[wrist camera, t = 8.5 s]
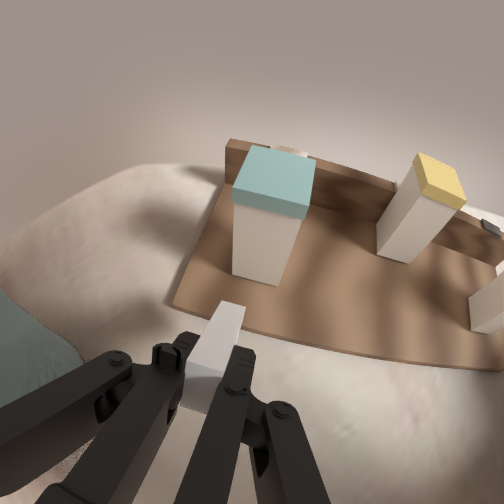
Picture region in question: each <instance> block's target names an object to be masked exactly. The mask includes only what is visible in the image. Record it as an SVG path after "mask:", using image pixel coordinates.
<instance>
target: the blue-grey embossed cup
mask: <svg viewBox="0 0 504 504" xmlns="http://www.w3.org/2000/svg"><path fill="white" fill-rule="evenodd" d="M83 364H84V363H83V361H82V359H81V357H80V355H79V353H78V352H77V351H76V349H75V348H74V347H73V346H72V345H71V344H70V343H69V342H68V341H66V340H65V339H63V338H62V337H61V336H59V335H58V334H56V333H55V332H53V331H51V330H50V329H48V328H47V327H46V326H44V325H42V324H40V322H39V321H38V320H36V319H35V318H34V317H33V316H31V315H30V314H29V313H28V312H26V311H25V310H24V309H23V308H21V307H20V306H19V305H18V304H16V303H15V302H14V301H13V300H12V299H10V298H9V297H8V295H7V294H6V293H5V292H4V291H3V290H2V289H1V288H0V408H1V407H3V406H5V405H7V404H9V403H11V402H12V401H14V400H16V399H18V398H20V397H22V396H24V395H26V394H28V393H30V392H32V391H34V390H36V389H38V388H40V387H42V386H44V385H45V384H47V383H49V382H51V381H53V380H55V379H57V378H59V377H61V376H63V375H64V374H66V373H68V372H70V371H72V370H74V369H76V368H78V367H79V366H81V365H83Z"/></svg>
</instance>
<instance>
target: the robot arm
mask: <svg viewBox="0 0 504 504" xmlns="http://www.w3.org/2000/svg"><path fill="white" fill-rule="evenodd" d="M245 309H246V307H244V306H241V305H237V304H233V303H230V302H226V301H223V300H222V301H221V302H220V304H219V306H218V308H217V309H216V311H215V313H214V314H213V316H212V318H211V319H210V321H209V323H208V324H207V326H206V328H205V330H204V331H203V333H202V335H201V336H200V335H197V334H194V333H191V332H188V331H185V332H183V333H181V334H179V335H178V337H177V338H176V339H175V341H174V342H173V344H170V343H160V344H156V345H155V346H154V347H153V352H152V363H151V364H150V365H141V364H136V363H132V359H131V357H130V356H129V355H128V354H126V353H124V352H122V351H117V350H114V351H108V352H106V353H104V354H102V355H100V356H98V357H96V358H94V359H93V360H91V361H89V362H87V363H85V364H83V365H81V366H79V367H78V368H76V369H74V370H72V371H70V372H68V373H66V374H64V375H63V376H61V377H59V378H57V379H55V380H53V381H51V382H49V383H47V384H45V385H44V386H42V387H40V388H38V389H36V390H34V391H32V392H30V393H28V394H26V395H24V396H22V397H20V398H18V399H16V400H14V401H12V402H11V403H9V404H7V405H5V406H3V407H1V408H0V497H3V496H6V495H9V494H11V493H13V492H15V491H17V490H19V489H21V488H22V487H24V486H25V485H27V484H28V483H30V482H31V481H33V480H34V479H36V478H37V477H39V476H40V475H42V474H43V473H45V472H46V471H48V470H49V469H51V468H52V467H53V466H55V465H56V464H58V463H59V462H61V461H62V460H63V459H65V458H66V457H68V456H69V455H70V454H72V453H73V452H74V451H76V450H77V449H79V448H80V447H81V446H83V445H84V444H85V443H87V442H88V441H89V440H91V439H92V438H93V437H95V436H96V435H97V436H96V437H95V438H94V440H93V441H92V442H91V444H90V445H89V447H88V448H87V449H86V451H85V452H84V453H83V455H82V456H81V457H80V459H79V460H78V461H77V463H76V464H75V466H74V467H73V468H72V470H71V471H70V472H69V474H68V475H67V477H66V478H65V479H64V480H63V481H62V482H61V483H53V484H51V485H49V486H48V487H47V488H46V489H45V490H44V492H43V493H42V494H41V496H40V497H39V498H38V500H37V501H36V502H35V504H132V502H133V500H134V498H135V496H136V494H137V492H138V490H139V488H140V486H141V484H142V482H143V480H144V478H145V476H146V474H147V472H148V470H149V468H150V466H151V464H152V462H153V460H154V458H155V456H156V454H157V452H158V450H159V448H160V446H161V443H162V441H163V439H164V437H165V435H166V433H167V431H168V429H169V427H170V425H171V423H172V421H173V419H174V417H175V415H176V412H177V406H178V404H179V402H180V406H183V407H185V408H188V409H191V410H195V411H198V412H201V413H204V414H207V416H206V419H205V422H204V424H203V427H202V430H201V432H200V435H199V438H198V440H197V443H196V446H195V448H194V451H193V454H192V456H191V459H190V462H189V464H188V467H187V470H186V472H185V475H184V477H183V480H182V483H181V485H180V488H179V491H178V493H177V496H176V498H175V501H174V503H173V504H227V501H228V497H229V493H230V488H231V484H232V479H233V475H234V470H235V466H236V461H237V456H238V452H239V447H240V442H242V443H244V444H246V445H248V446H249V453H250V459H251V465H252V472H253V478H254V484H255V490H256V495H257V501H258V504H331V503H330V500H329V497H328V495H327V492H326V489H325V486H324V484H323V481H322V478H321V475H320V473H319V470H318V467H317V464H316V462H315V459H314V456H313V453H312V451H311V448H310V445H309V442H308V440H307V437H306V434H305V431H304V428H303V426H302V423H301V420H300V417H299V414H298V412H297V410H296V409H295V408H294V407H293V406H292V405H291V404H289V403H286V402H283V401H272V402H270V403H268V404H266V403H264V402H261V401H260V400H258V399H257V398H256V397H254V395H253V394H252V393H251V390H250V386H251V381H252V376H253V370H254V365H255V360H256V355H255V353H254V351H253V350H252V349H248V348H244V347H241V346H237V345H236V344H237V340H238V336H239V332H240V328H241V325H242V321H243V317H244V313H245ZM180 400H181V401H180Z"/></svg>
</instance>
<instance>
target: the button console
mask: <svg viewBox="0 0 504 504" xmlns="http://www.w3.org/2000/svg"><path fill="white" fill-rule="evenodd" d="M252 145H255V146H260V147H265V148H269V149H274V150H278V151H282V152H287V153H291V154H295V155H299V156H303V157H306V158H310V159H314V160H316V165H315V172H314V178H313V185H312V191H311V197H310V203H309V208H308V211H307V213H306V216H305V219H304V220H302V222H301V225H300V228H299V231H298V233H297V236H296V239H295V242H294V245H293V248H292V250H291V253H290V256H289V259H288V262H287V264H286V267H285V270H284V273H283V275H282V278H281V281H280V283H279V286H278V287H277V286H273V285H269V284H265V283H262V282H258V281H254V280H250V279H247V278H243V277H239V276H235V275H232V254H233V220H234V203H233V202H232V187H233V185H234V183H235V181H236V178H237V176H238V174H239V172H240V170H241V167H242V165H243V163H244V161H245V159H246V157H247V155H248V152H249V150H250V148H251V146H252ZM307 155H308V153H307V152H303V151H299V150H295V149H292V148H287V147H283V146H278V145H275V144H271V147H270V146H265V145H261V144H256V143H251V142H246V141H241V140H236V139H230V140H229V141H228V143H227V145H226V147H225V184H224V186H223V189H222V191H221V193H220V195H219V197H218V199H217V201H216V203H215V205H214V208H213V210H212V212H211V214H210V216H209V218H208V221H207V223H206V225H205V227H204V229H203V232H202V234H201V236H200V238H199V241H198V243H197V245H196V247H195V250H194V252H193V254H192V257H191V259H190V261H189V263H188V266H187V268H186V271H185V273H184V275H183V278H182V280H181V282H180V285H179V287H178V290H177V292H176V295H175V297H174V300H173V302H172V304H171V305H172V307H173V308H174V309H176V310H179V311H182V312H185V313H188V314H191V315H194V316H198V317H201V318H204V319H207V320H210V319H211V318H212V316H213V314H214V313H215V311H216V309H217V308H218V306H219V304H220V302H221V301H222V300H223V301H226V302H230V303H233V304H237V305H241V306H244V307H246V309H245V313H244V317H243V321H242V325H241V328H240V329H242V330H246V331H249V332H253V333H257V334H261V335H265V336H269V337H273V338H277V339H281V340H285V341H289V342H293V343H298V344H302V345H307V346H311V347H316V348H321V349H325V350H330V351H335V352H340V353H346V354H351V355H357V356H362V357H368V358H374V359H380V360H387V361H394V362H401V363H408V364H416V365H424V366H433V367H443V368H454V369H468V370H485V371H502V370H504V328H502V329H500V330H498V331H496V332H495V333H493V334H491V335H490V334H485V333H479V332H474V331H471V322H470V310H469V300H468V298H469V297H470V296H472V295H473V294H475V293H476V292H477V291H479V290H480V289H482V288H483V287H484V286H486V285H487V284H488V283H489V282H491V281H492V280H493V279H495V278H496V277H497V274H496V269H495V267H496V266H497V265H498V264H499V263H501V262H502V261H503V260H504V233H503V232H501V231H500V228H499V227H497V226H495V225H493V224H492V223H490V222H488V221H486V220H484V219H482V220H479V219H477V218H475V217H473V216H471V215H469V214H467V213H465V212H462V211H460V210H457V211H456V213H455V214H454V215H453V216H452V217H451V219H450V220H449V221H448V222H447V223H446V225H445V226H444V227H443V228H442V229H441V230H440V231H439V233H438V234H437V235H436V236H435V237H434V238H433V239H432V240H431V242H430V243H429V244H428V245H427V246H426V247H425V248H424V249H423V250H422V251H421V252H420V253H419V255H418V256H417V257H416V258H415V259H414V260H413V261H412V262H411V263H410V264H407V263H404V262H400V261H397V260H394V259H390V258H387V257H383V256H380V255H377V232H376V224H377V222H378V221H379V219H380V218H381V216H382V215H383V213H384V212H385V210H386V208H387V207H388V205H389V204H390V202H391V200H392V199H393V197H394V195H395V194H396V192H397V191H398V189H399V187H400V186H401V184H402V183H401V182H398V181H395V183H393V182H390V181H388V180H385V179H382V178H379V177H376V176H373V175H370V174H367V173H364V172H361V171H358V170H355V169H352V168H349V167H345V166H342V165H339V164H335V163H332V162H329V161H325V160H322V159H318V158H314V157H311V156H307Z"/></svg>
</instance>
